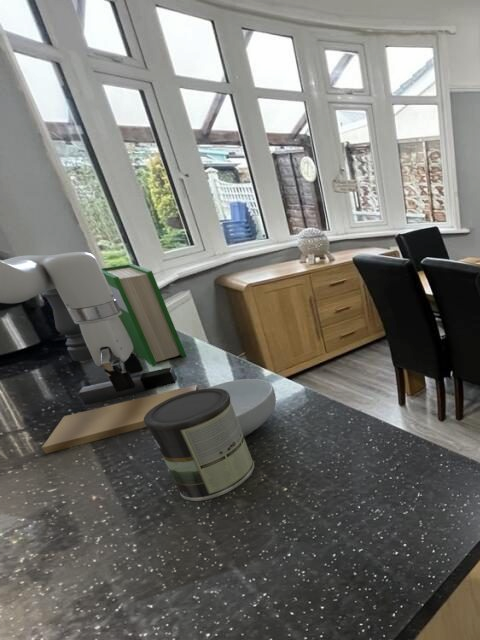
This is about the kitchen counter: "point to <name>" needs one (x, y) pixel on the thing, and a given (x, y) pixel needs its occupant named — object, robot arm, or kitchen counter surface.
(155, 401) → the cutting board
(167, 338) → the hardback book
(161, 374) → the grey bar black end
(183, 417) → the coffee can
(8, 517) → the kitchen counter surface
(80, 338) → the candle holder
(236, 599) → the kitchen counter surface
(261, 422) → the cereal bowl
